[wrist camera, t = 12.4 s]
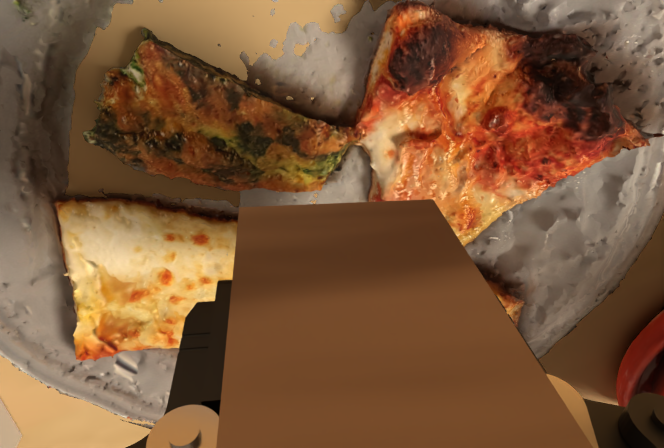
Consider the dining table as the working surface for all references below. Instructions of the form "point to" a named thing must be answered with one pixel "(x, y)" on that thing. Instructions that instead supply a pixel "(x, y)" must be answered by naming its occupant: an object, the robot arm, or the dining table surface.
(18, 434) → the grey divider panel
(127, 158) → the food plate
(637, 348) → the plant pot
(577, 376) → the dining table surface
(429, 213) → the walnut block
